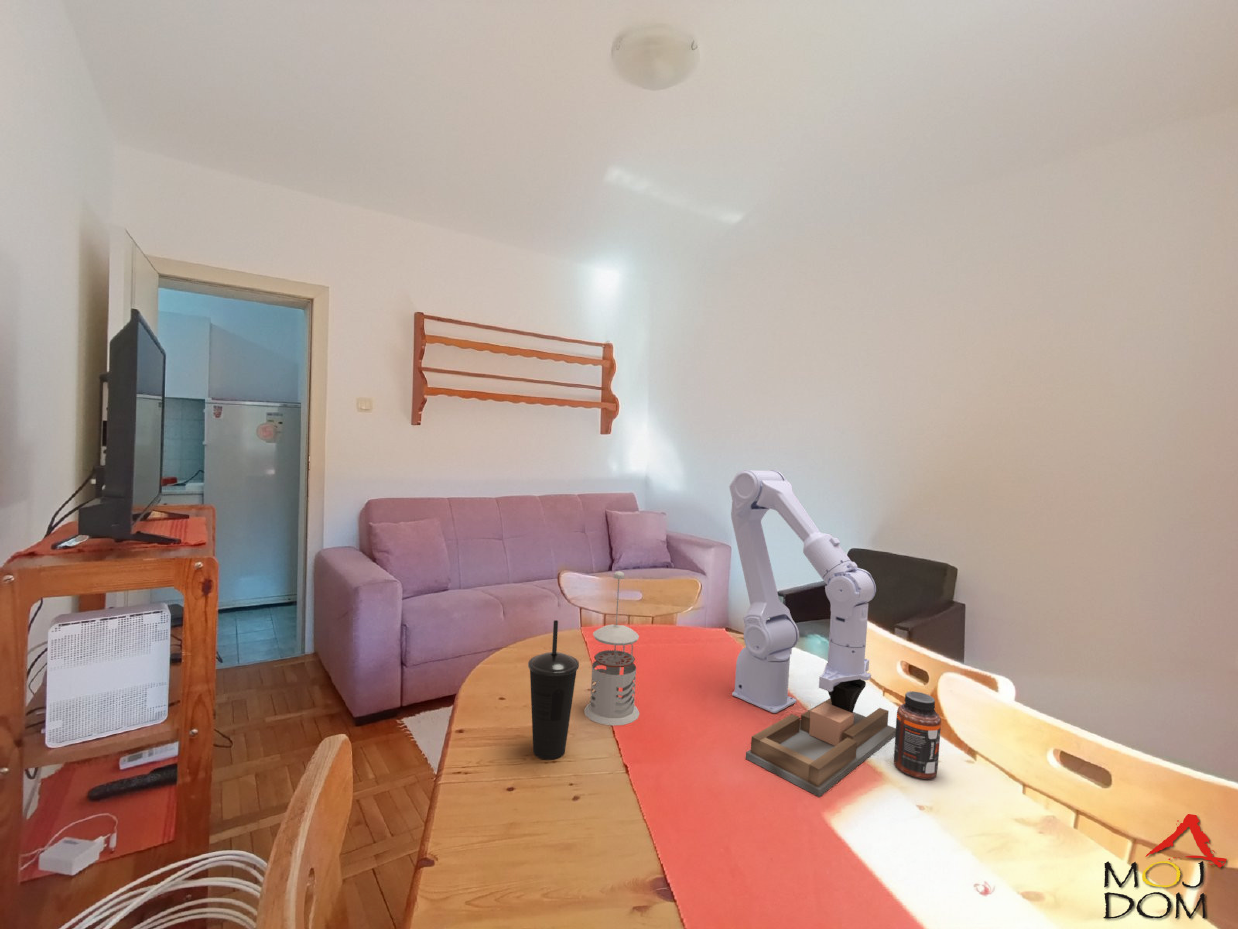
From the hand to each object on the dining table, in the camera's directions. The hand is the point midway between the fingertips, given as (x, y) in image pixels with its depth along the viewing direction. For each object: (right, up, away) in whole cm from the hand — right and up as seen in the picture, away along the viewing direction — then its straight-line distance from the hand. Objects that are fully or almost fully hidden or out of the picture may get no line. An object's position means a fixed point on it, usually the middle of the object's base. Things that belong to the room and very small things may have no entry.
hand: (841, 721), depth 94 cm
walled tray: (-4, -2, -4) cm, 6 cm away
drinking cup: (-48, 0, -10) cm, 49 cm away
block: (-3, -1, -3) cm, 4 cm away
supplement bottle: (+7, -3, -9) cm, 12 cm away
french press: (-39, 0, +5) cm, 39 cm away
